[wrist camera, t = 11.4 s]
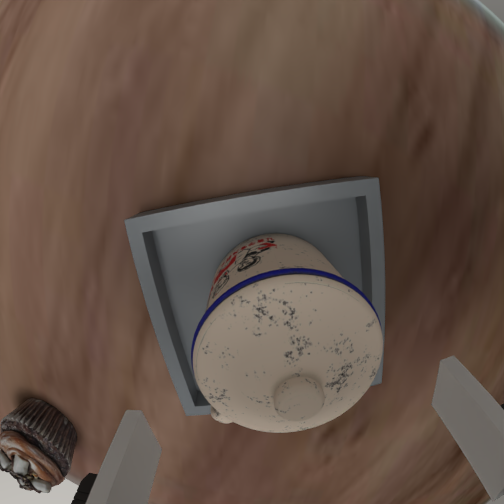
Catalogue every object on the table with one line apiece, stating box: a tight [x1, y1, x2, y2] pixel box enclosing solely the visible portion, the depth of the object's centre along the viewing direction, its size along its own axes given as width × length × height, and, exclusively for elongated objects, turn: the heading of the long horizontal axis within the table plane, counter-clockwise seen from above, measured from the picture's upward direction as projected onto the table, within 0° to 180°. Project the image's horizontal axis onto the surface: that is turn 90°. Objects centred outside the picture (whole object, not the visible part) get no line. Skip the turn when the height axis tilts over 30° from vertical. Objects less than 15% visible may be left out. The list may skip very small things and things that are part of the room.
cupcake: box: [0, 398, 77, 493], centre depth 22 cm, size 10×10×10 cm
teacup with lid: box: [191, 234, 383, 433], centre depth 17 cm, size 12×9×12 cm
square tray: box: [124, 176, 385, 416], centre depth 22 cm, size 16×16×3 cm
